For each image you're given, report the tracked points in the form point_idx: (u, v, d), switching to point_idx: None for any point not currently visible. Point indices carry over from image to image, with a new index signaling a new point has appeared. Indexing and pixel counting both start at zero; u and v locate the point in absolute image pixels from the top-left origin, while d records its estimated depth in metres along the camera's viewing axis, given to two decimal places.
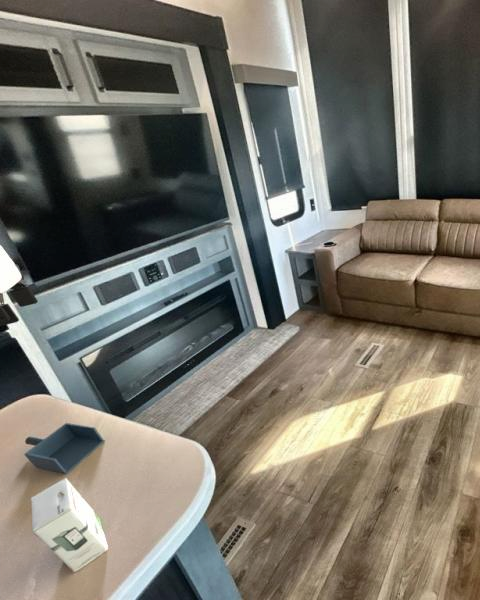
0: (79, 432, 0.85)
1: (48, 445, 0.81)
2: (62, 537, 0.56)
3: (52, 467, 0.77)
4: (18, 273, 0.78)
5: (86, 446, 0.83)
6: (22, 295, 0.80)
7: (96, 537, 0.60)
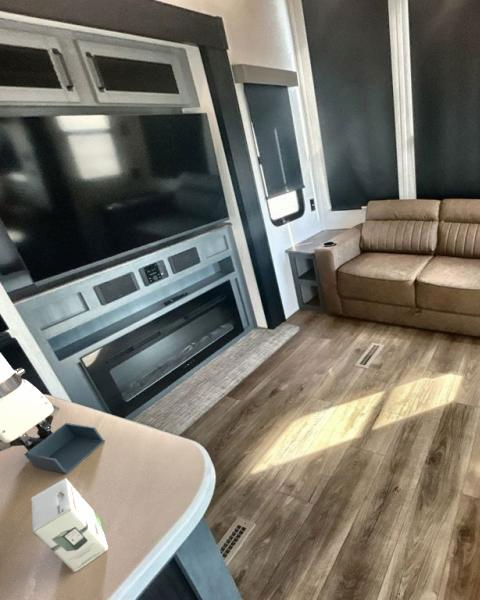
0: (79, 432, 0.85)
1: (48, 445, 0.81)
2: (62, 537, 0.56)
3: (52, 467, 0.77)
4: (48, 410, 0.82)
5: (86, 446, 0.83)
6: None
7: (96, 537, 0.60)
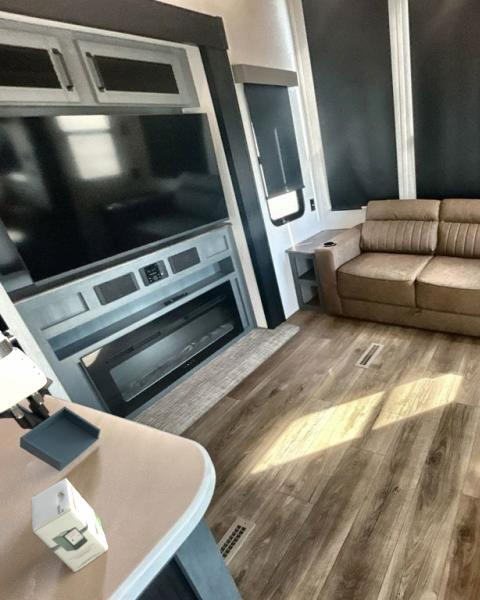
0: (75, 420, 0.82)
1: (41, 428, 0.78)
2: (62, 537, 0.56)
3: (47, 460, 0.76)
4: (40, 381, 0.77)
5: (79, 439, 0.82)
6: (36, 412, 0.78)
7: (96, 537, 0.60)
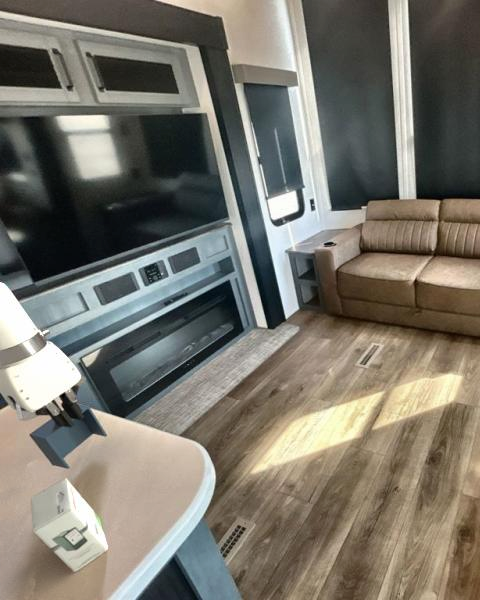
0: (86, 416, 0.80)
1: None
2: (62, 537, 0.56)
3: (51, 457, 0.74)
4: (75, 377, 0.73)
5: (79, 433, 0.80)
6: (69, 410, 0.73)
7: (96, 537, 0.60)
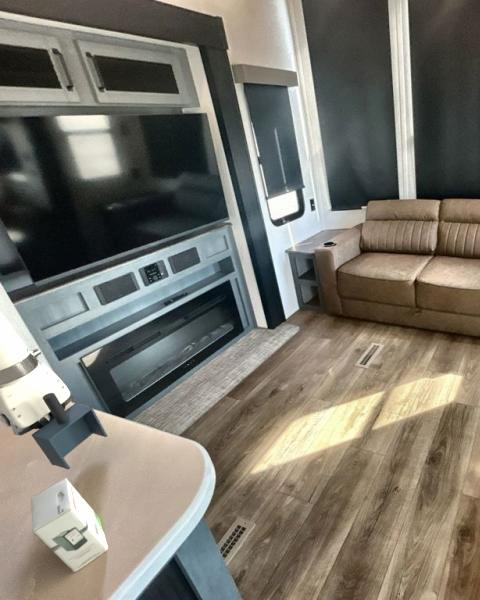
0: (88, 417, 0.80)
1: None
2: (62, 537, 0.56)
3: (52, 457, 0.74)
4: (64, 394, 0.77)
5: (79, 432, 0.80)
6: None
7: (96, 537, 0.60)
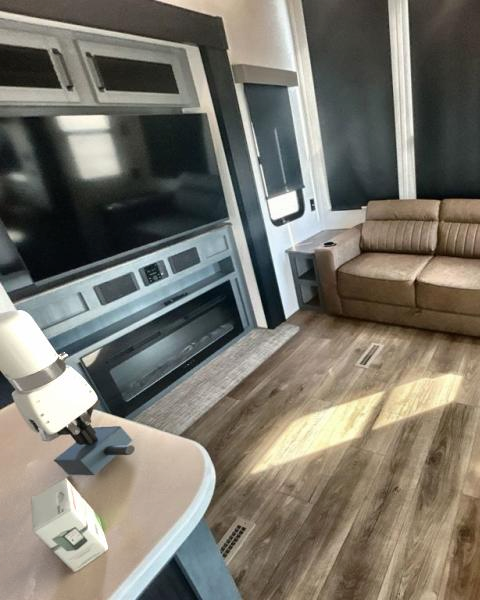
0: None
1: None
2: (62, 537, 0.56)
3: (67, 466, 0.74)
4: (92, 399, 0.75)
5: None
6: None
7: (96, 537, 0.60)
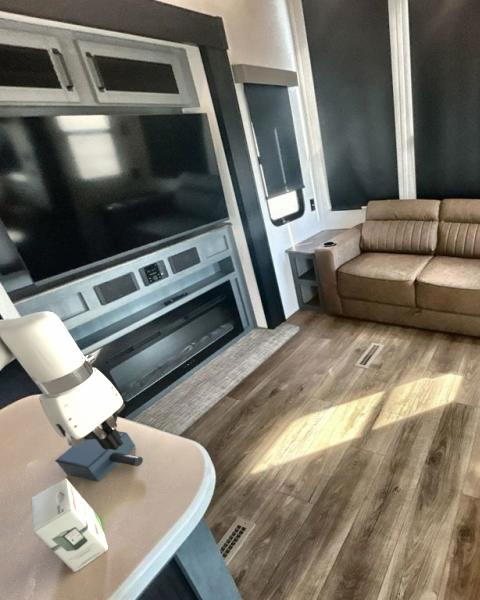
0: None
1: None
2: (62, 537, 0.56)
3: (69, 468, 0.75)
4: (118, 402, 0.73)
5: None
6: None
7: (96, 537, 0.60)
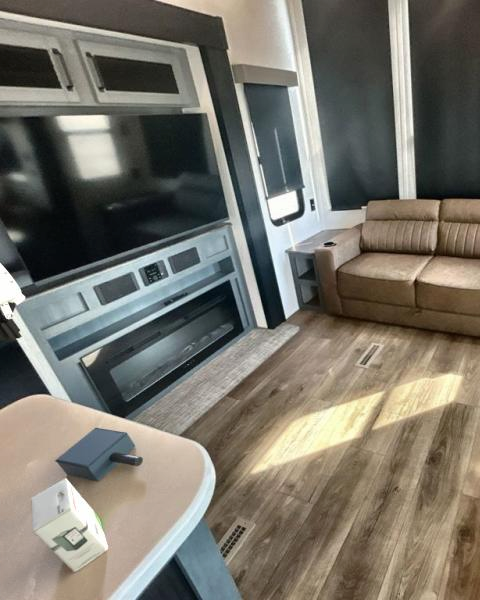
0: None
1: None
2: (62, 537, 0.56)
3: (69, 468, 0.75)
4: (13, 290, 0.69)
5: None
6: None
7: (96, 537, 0.60)
